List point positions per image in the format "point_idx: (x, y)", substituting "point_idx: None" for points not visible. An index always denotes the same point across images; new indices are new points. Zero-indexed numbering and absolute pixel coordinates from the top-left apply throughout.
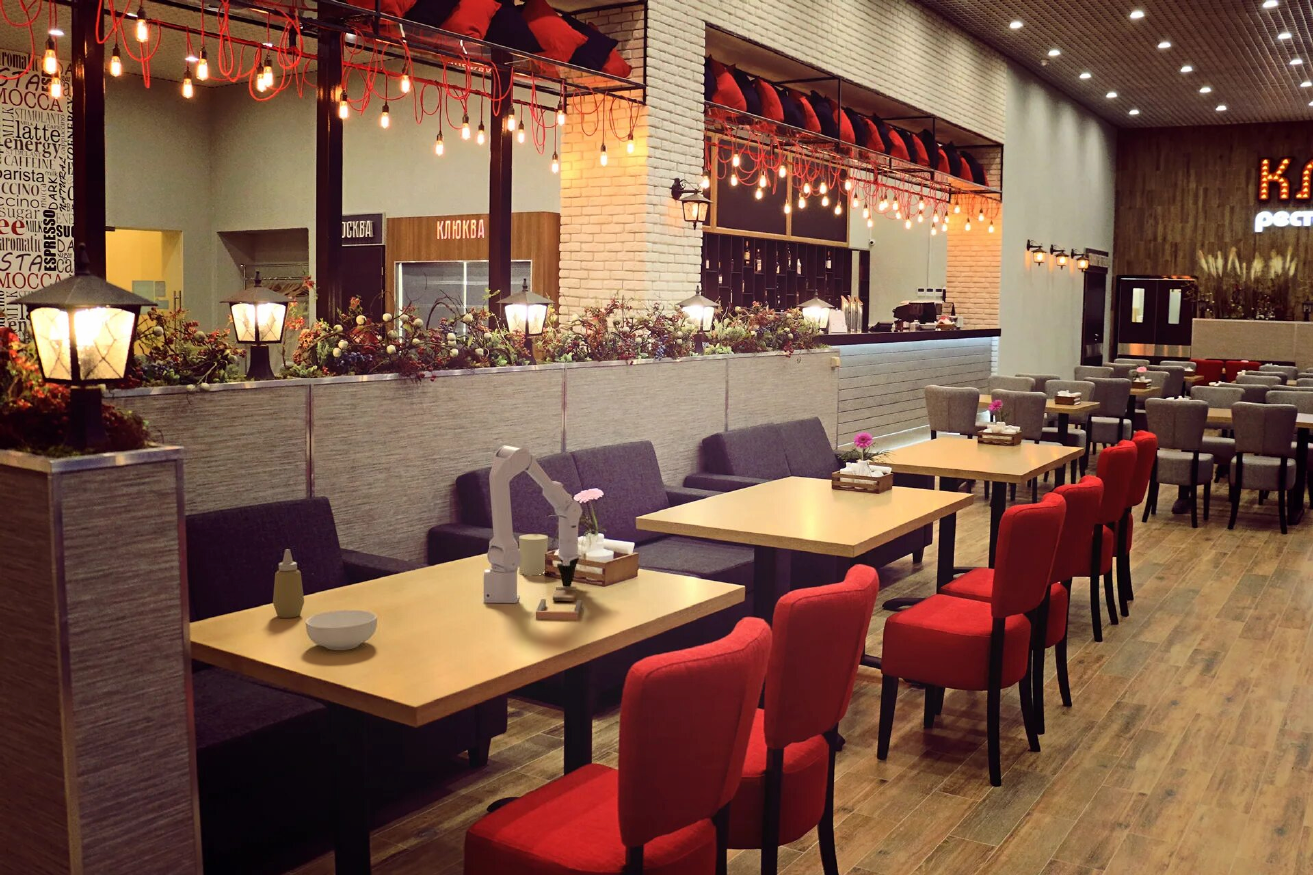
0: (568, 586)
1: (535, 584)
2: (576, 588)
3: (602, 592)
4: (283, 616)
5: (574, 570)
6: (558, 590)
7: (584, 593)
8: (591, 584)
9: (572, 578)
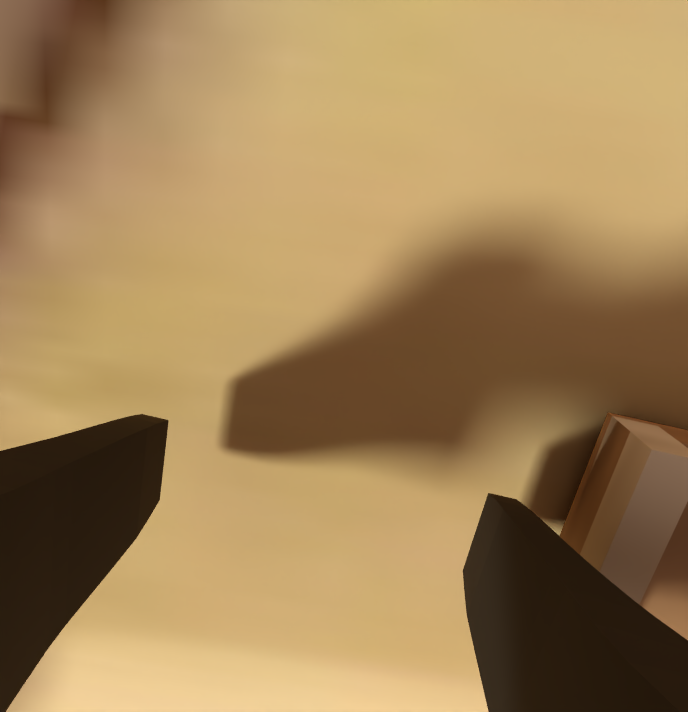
0: (612, 557)
1: (74, 708)
2: (662, 443)
3: (564, 10)
4: None
5: (55, 472)
6: None
7: (558, 294)
8: (57, 124)
9: (148, 439)
